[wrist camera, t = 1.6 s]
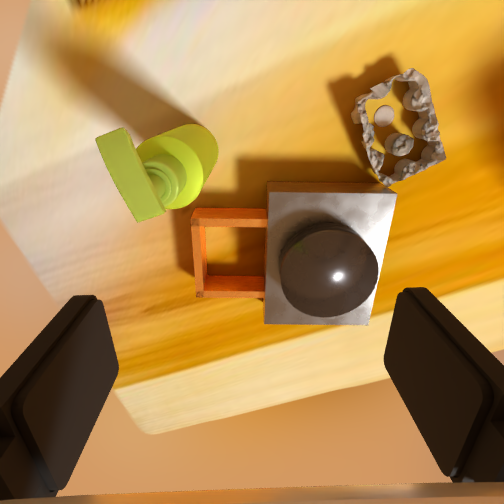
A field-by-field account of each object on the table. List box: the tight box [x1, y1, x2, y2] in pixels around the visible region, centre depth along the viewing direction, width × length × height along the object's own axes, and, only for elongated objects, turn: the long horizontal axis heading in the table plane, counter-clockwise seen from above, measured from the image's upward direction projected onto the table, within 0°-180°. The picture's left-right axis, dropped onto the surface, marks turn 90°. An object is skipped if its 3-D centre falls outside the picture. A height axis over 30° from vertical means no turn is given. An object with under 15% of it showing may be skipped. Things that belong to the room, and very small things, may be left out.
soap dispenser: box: [95, 124, 218, 223], centre depth 28 cm, size 6×7×20 cm
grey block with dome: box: [190, 181, 397, 325], centre depth 39 cm, size 18×23×8 cm
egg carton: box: [351, 68, 446, 187], centre depth 34 cm, size 11×8×4 cm
